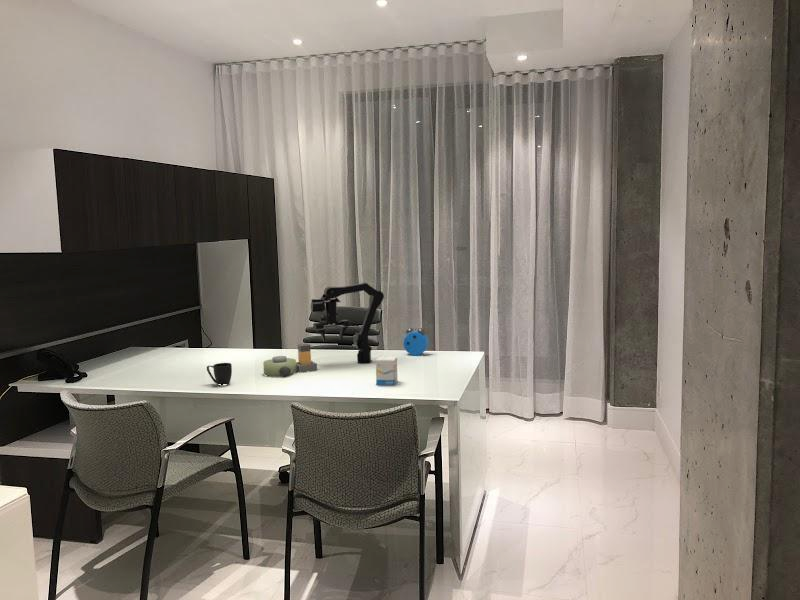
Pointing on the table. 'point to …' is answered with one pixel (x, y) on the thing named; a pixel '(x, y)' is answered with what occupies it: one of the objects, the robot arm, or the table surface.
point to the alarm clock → (415, 341)
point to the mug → (221, 373)
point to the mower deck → (285, 366)
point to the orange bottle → (304, 354)
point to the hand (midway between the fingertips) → (332, 340)
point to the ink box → (386, 370)
